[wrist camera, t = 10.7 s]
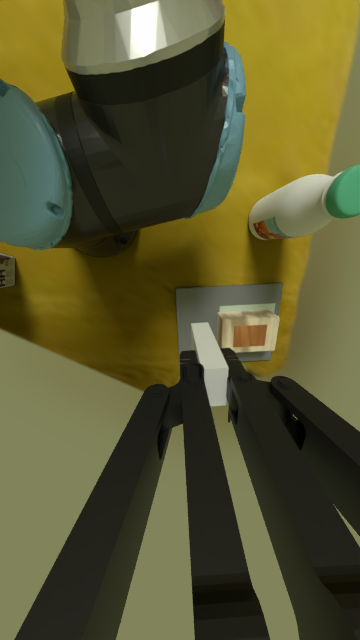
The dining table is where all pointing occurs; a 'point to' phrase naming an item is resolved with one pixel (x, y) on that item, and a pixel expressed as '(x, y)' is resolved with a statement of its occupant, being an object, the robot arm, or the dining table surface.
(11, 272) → the coffee box
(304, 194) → the milk bottle
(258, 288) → the topple mat
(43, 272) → the dining table surface
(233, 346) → the maple block
